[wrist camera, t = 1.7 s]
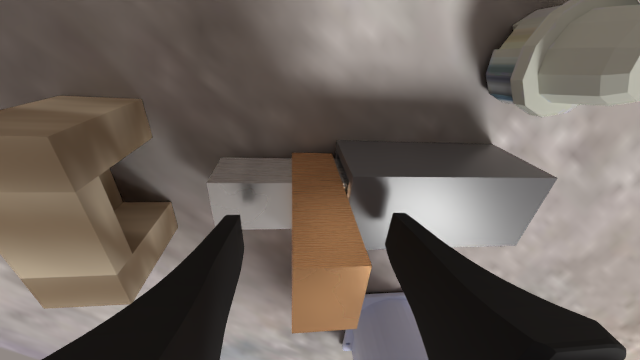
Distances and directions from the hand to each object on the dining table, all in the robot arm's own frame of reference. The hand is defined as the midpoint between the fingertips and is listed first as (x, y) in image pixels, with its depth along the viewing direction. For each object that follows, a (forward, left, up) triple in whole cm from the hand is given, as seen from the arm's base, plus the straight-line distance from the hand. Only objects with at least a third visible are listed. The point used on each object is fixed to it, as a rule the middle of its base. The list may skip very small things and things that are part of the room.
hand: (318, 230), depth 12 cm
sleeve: (0, -7, -6) cm, 9 cm away
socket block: (0, +11, -6) cm, 13 cm away
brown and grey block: (0, -3, -6) cm, 6 cm away
